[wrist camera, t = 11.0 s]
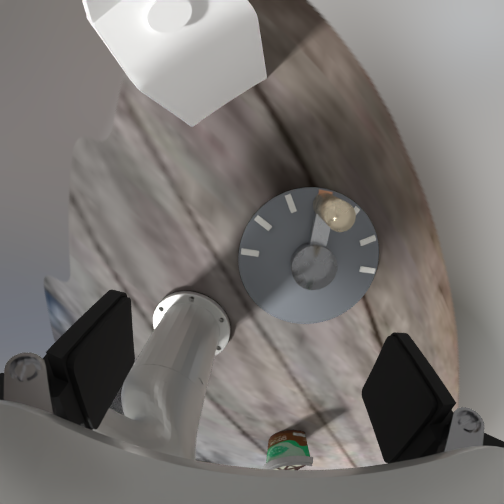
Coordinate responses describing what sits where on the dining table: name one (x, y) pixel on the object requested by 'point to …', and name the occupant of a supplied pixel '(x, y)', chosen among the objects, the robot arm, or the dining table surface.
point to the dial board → (283, 246)
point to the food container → (288, 451)
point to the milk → (183, 50)
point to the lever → (321, 243)
